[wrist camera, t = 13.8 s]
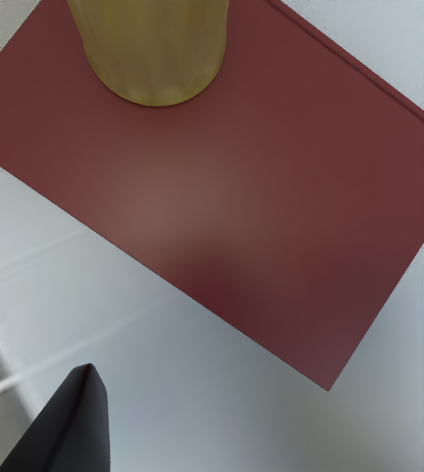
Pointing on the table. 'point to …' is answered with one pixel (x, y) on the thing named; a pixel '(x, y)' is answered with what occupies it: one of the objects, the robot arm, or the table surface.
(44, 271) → the table surface
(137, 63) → the vase
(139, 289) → the table surface
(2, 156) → the book
